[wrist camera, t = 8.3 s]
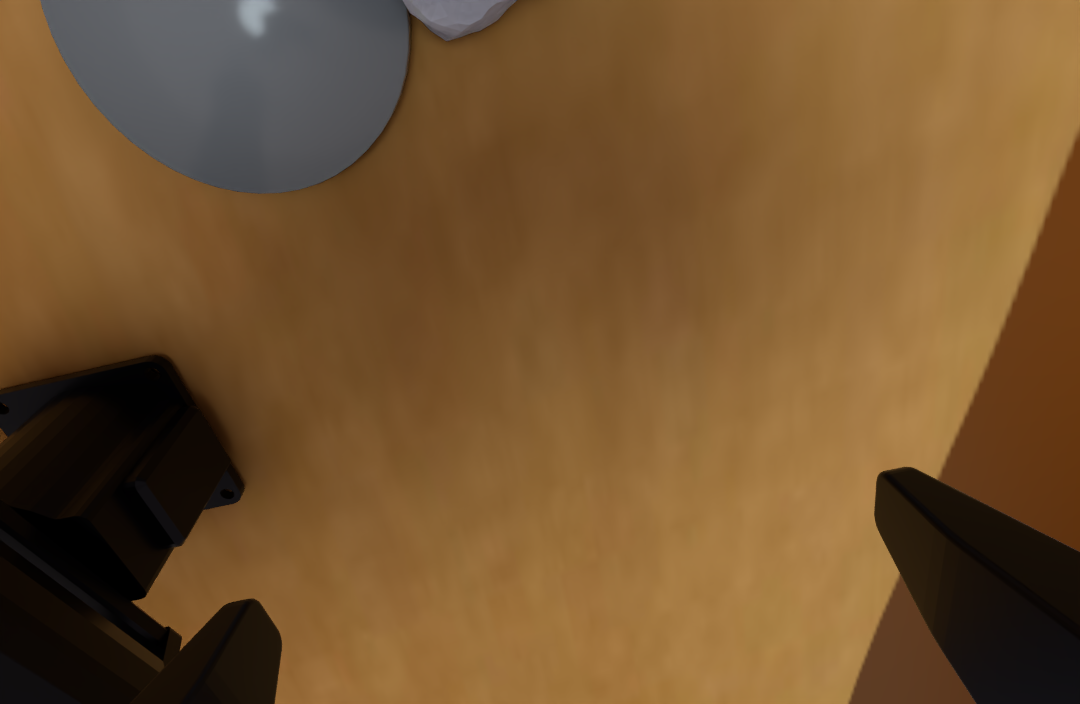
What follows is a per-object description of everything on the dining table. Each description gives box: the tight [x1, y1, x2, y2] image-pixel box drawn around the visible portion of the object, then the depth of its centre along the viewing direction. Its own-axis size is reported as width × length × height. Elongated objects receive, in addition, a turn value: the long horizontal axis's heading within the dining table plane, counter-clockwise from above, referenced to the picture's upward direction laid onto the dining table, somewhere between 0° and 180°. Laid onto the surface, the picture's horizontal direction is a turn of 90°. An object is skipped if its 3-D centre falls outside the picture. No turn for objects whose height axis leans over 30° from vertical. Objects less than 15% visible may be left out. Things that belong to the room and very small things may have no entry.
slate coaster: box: [41, 0, 411, 194], centre depth 16 cm, size 9×9×1 cm
